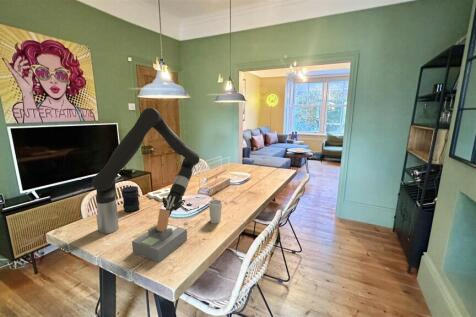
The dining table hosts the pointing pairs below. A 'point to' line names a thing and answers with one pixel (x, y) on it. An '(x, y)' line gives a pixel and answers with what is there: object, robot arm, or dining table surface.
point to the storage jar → (130, 199)
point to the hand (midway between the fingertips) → (165, 217)
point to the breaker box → (159, 242)
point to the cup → (215, 210)
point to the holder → (160, 194)
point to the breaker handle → (162, 221)
